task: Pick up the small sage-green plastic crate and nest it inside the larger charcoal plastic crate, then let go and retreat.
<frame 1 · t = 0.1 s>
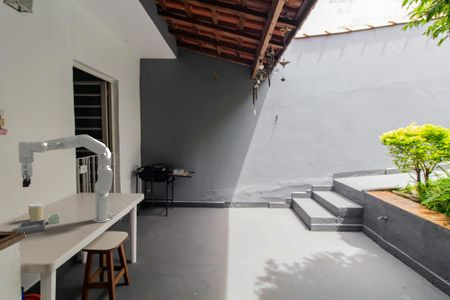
hand: (26, 185, 157), 31 cm above the table, tool pointing down, fingers open, 9 cm apart
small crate: (53, 222, 177), on the table
coffee cup: (36, 220, 181), on the table
large crate: (32, 229, 163), on the table
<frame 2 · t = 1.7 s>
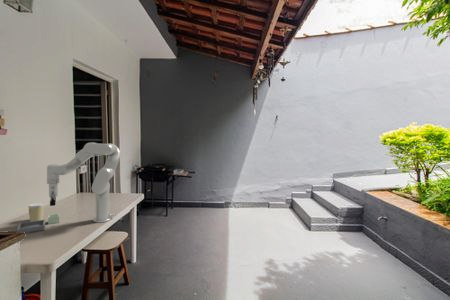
hand: (52, 203, 176), 14 cm above the table, tool pointing down, fingers open, 9 cm apart
nothing on the table moved.
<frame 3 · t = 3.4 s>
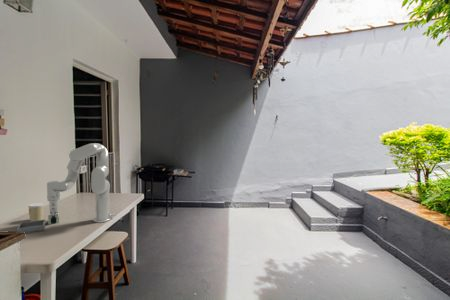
hand: (53, 221, 177), 1 cm above the table, tool pointing down, fingers closed on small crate, 6 cm apart
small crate: (53, 222, 177), on the table, touching gripper
everything else where it was.
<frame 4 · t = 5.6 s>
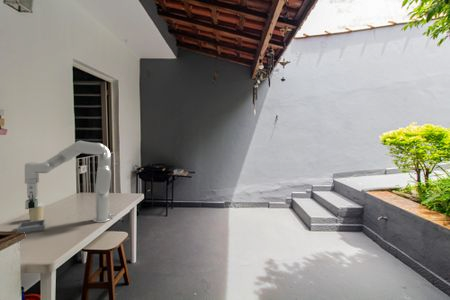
hand: (32, 206, 162), 16 cm above the table, tool pointing down, fingers closed on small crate, 6 cm apart
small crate: (32, 207, 162), point 15 cm above the table, touching gripper
everything else where it was.
when the fingers open (4 cm above the table, at t = 7.9 s): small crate drops 2 cm, resting on large crate.
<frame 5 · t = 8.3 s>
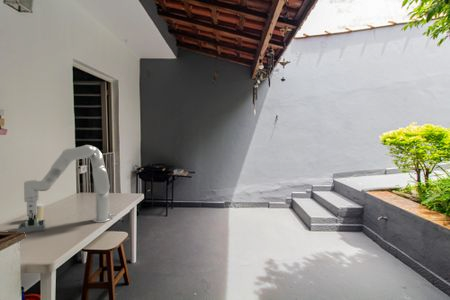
hand: (31, 223, 162), 4 cm above the table, tool pointing down, fingers open, 9 cm apart
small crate: (32, 228, 163), point 1 cm above the table, touching large crate
everything else where it was.
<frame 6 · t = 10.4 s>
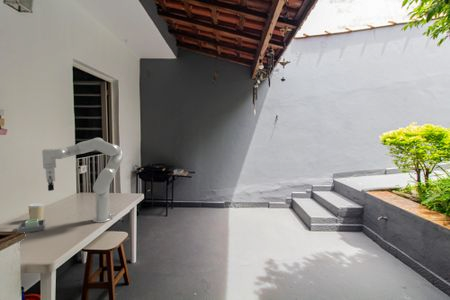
hand: (51, 189, 172), 26 cm above the table, tool pointing down, fingers open, 9 cm apart
nothing on the table moved.
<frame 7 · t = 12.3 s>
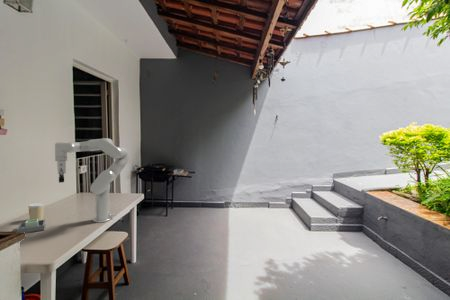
hand: (61, 181, 179), 30 cm above the table, tool pointing down, fingers open, 9 cm apart
nothing on the table moved.
at the end: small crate 0.0 cm off-centre on the large crate, point 0.8 cm above the large crate's base; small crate tilted 0°; the gripper is holding nothing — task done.
